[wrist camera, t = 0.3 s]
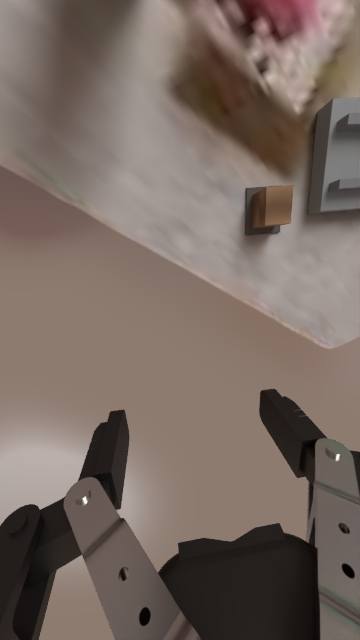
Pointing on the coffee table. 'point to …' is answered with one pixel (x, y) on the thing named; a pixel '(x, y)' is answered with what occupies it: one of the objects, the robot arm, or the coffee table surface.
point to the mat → (249, 214)
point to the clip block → (272, 206)
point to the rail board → (336, 158)
